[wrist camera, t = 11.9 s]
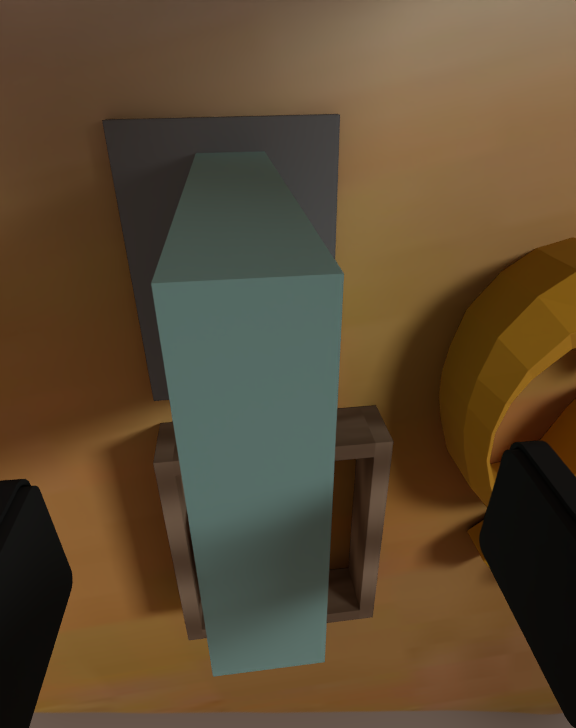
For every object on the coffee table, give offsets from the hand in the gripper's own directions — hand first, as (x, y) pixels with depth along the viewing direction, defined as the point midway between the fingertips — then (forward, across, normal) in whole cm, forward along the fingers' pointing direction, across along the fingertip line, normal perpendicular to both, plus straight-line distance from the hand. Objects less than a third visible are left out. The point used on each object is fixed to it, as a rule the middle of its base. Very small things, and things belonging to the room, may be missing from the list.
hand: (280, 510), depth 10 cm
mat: (+17, +1, +1) cm, 17 cm away
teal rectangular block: (+16, +1, +1) cm, 16 cm away
